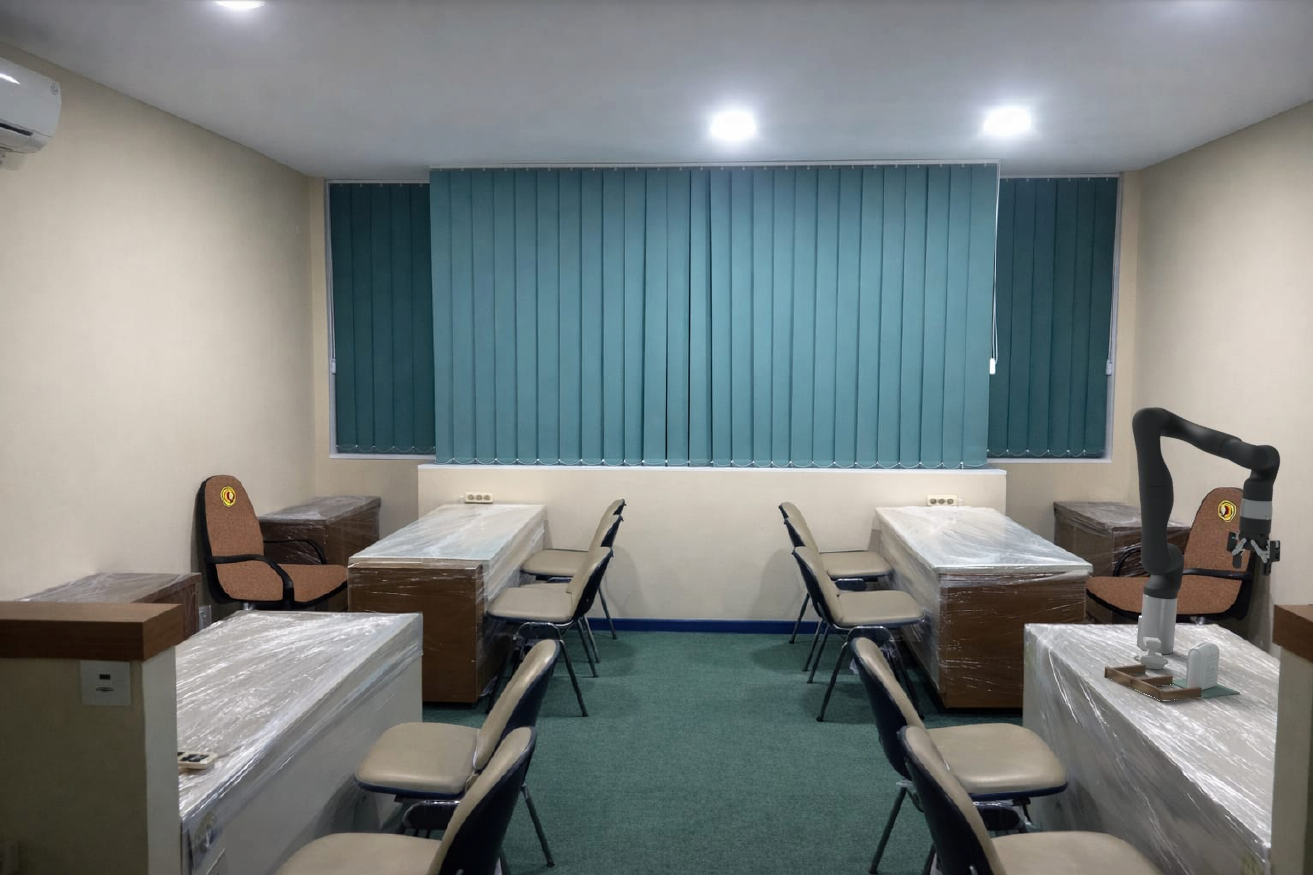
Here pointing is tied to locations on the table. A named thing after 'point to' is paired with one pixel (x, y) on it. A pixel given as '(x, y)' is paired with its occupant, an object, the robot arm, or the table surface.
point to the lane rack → (1149, 683)
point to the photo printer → (1202, 666)
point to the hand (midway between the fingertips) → (1251, 571)
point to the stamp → (1151, 654)
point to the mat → (1209, 689)
